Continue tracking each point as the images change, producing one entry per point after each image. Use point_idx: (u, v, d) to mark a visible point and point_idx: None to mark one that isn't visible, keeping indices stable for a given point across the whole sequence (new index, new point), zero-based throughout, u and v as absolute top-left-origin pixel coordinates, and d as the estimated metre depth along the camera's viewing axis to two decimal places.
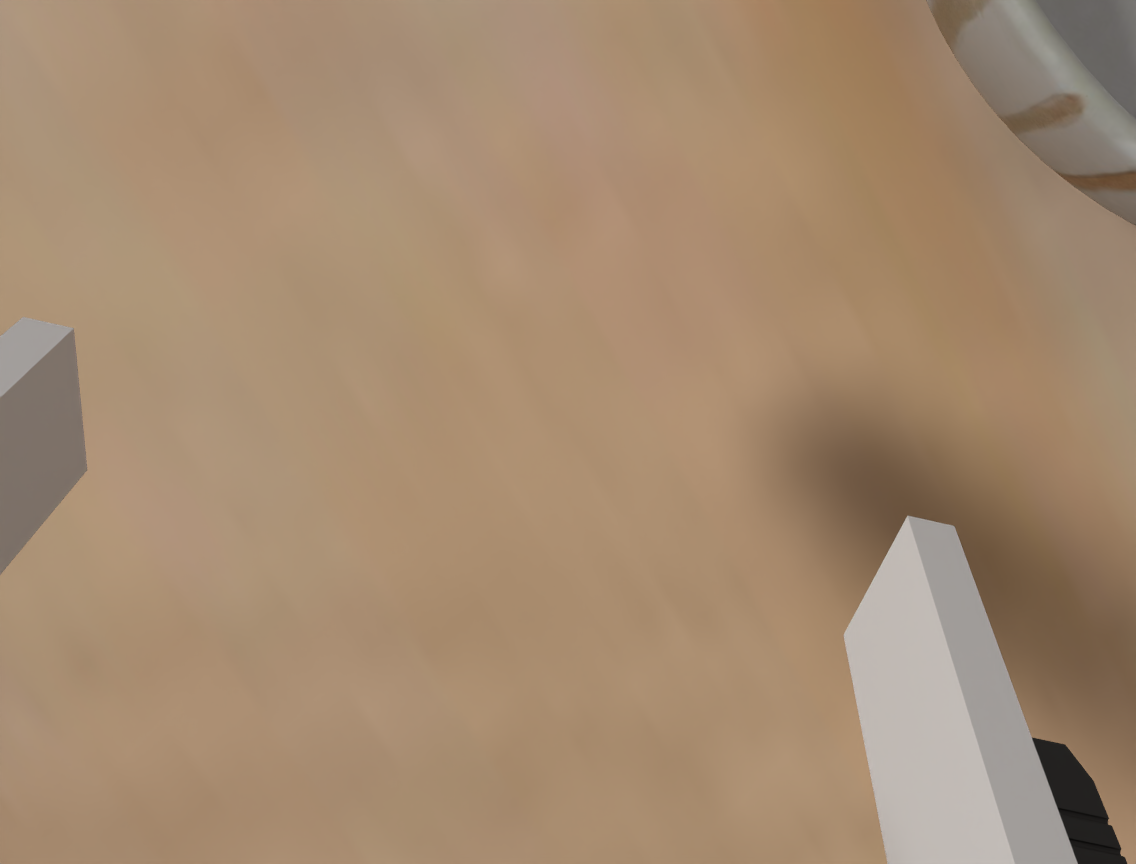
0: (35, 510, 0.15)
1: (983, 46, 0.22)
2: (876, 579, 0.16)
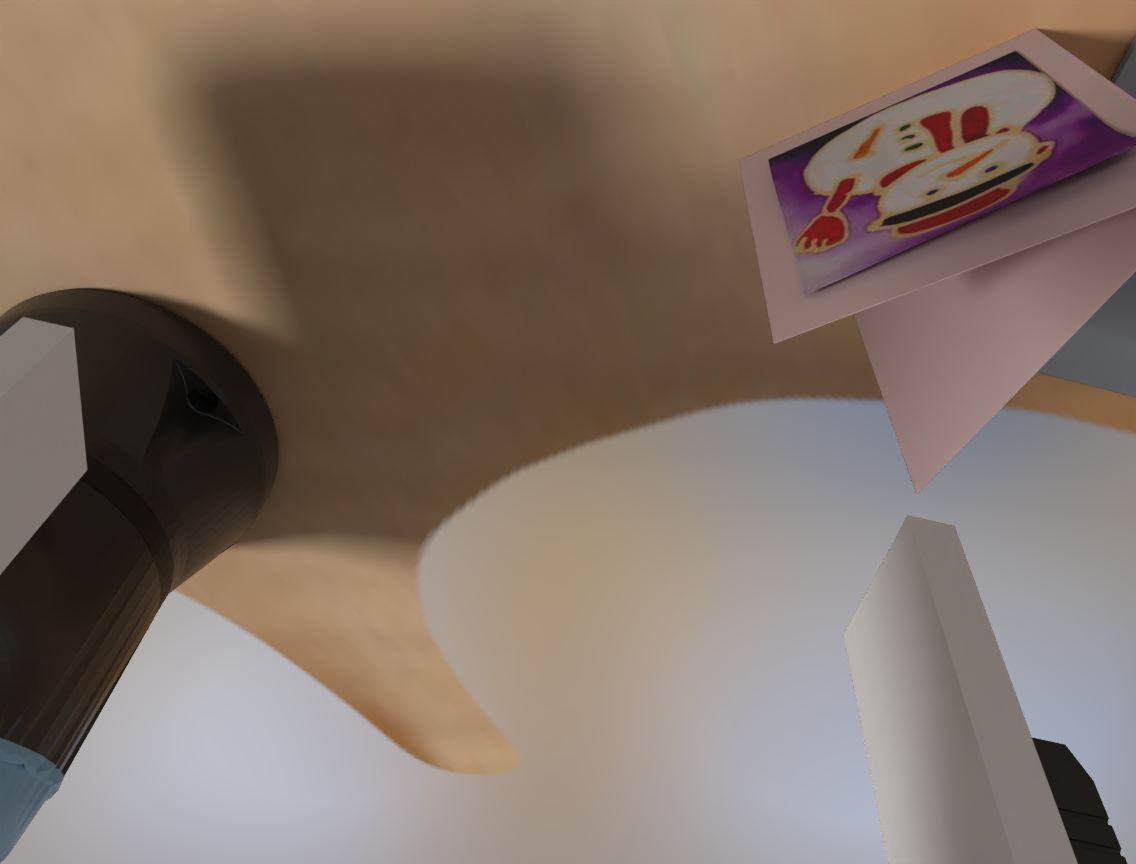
0: (35, 509, 0.15)
1: None
2: (876, 579, 0.16)
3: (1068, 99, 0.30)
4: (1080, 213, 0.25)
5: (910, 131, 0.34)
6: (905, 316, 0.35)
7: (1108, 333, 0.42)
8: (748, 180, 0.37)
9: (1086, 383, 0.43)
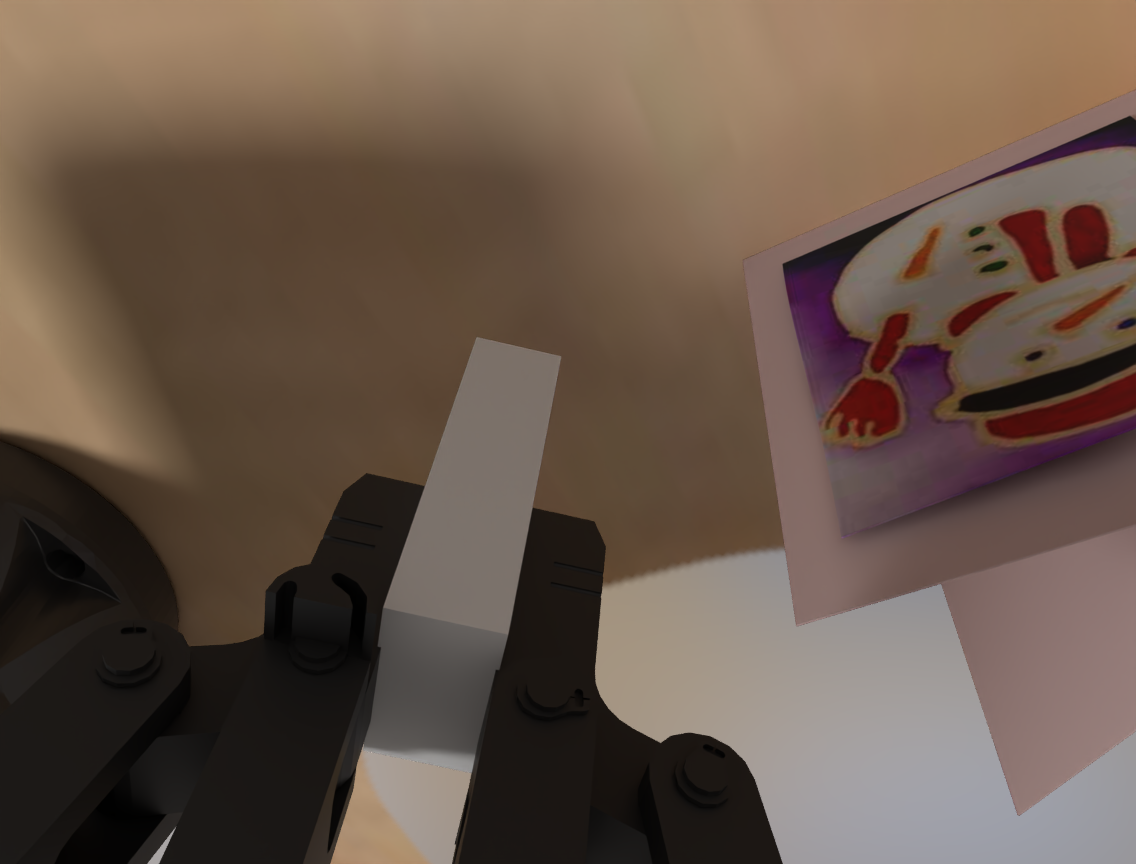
0: None
1: None
2: None
3: None
4: None
5: (985, 237, 0.24)
6: None
7: None
8: (755, 294, 0.27)
9: None
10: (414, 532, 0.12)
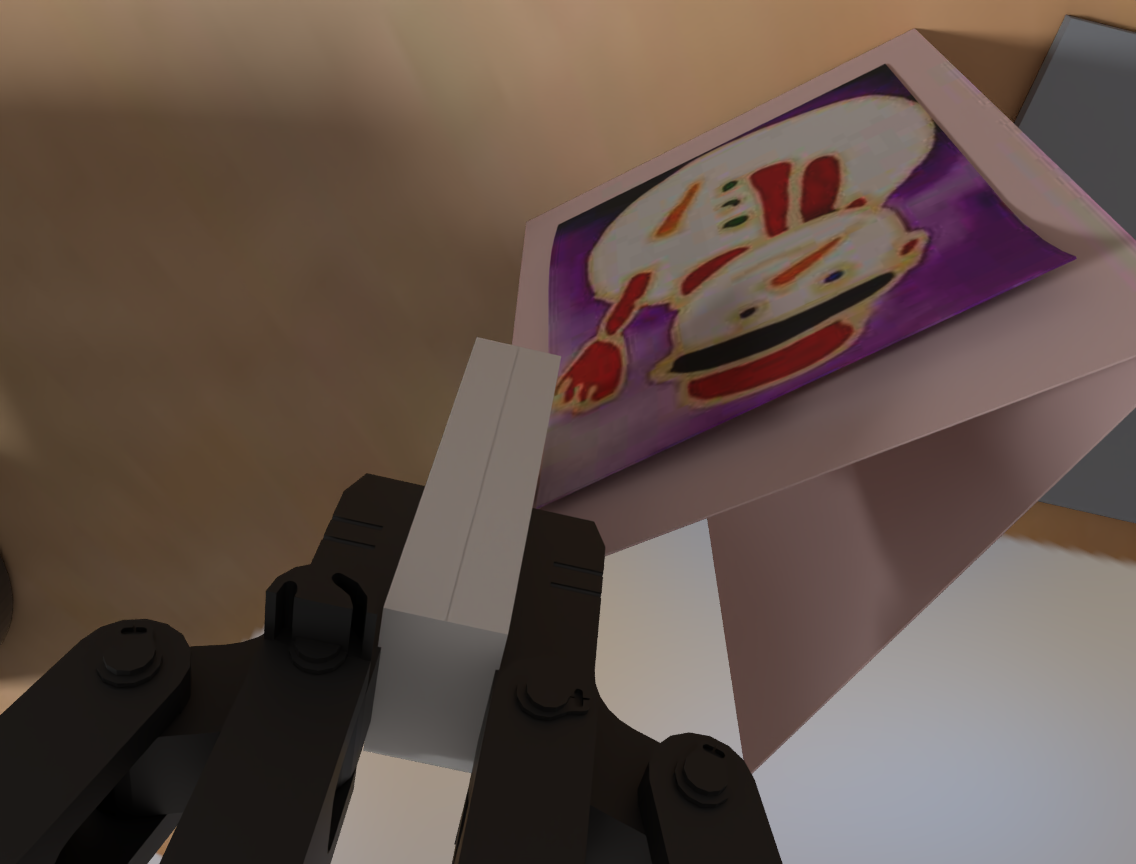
0: None
1: None
2: None
3: (952, 151, 0.20)
4: (962, 388, 0.14)
5: (736, 192, 0.23)
6: None
7: None
8: (529, 257, 0.26)
9: None
10: (414, 532, 0.12)
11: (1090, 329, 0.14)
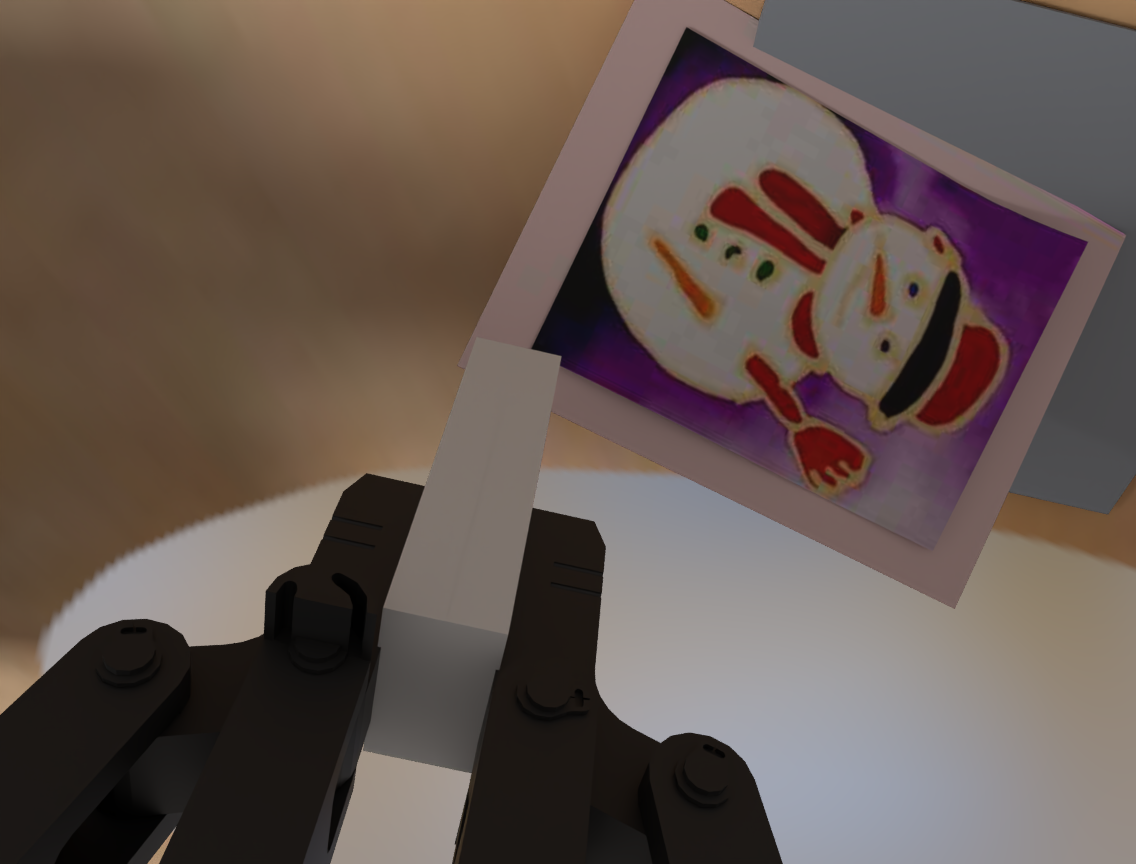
0: None
1: None
2: None
3: (875, 140, 0.26)
4: (1056, 327, 0.27)
5: (714, 235, 0.25)
6: None
7: None
8: None
9: None
10: (414, 532, 0.12)
11: (1079, 262, 0.27)
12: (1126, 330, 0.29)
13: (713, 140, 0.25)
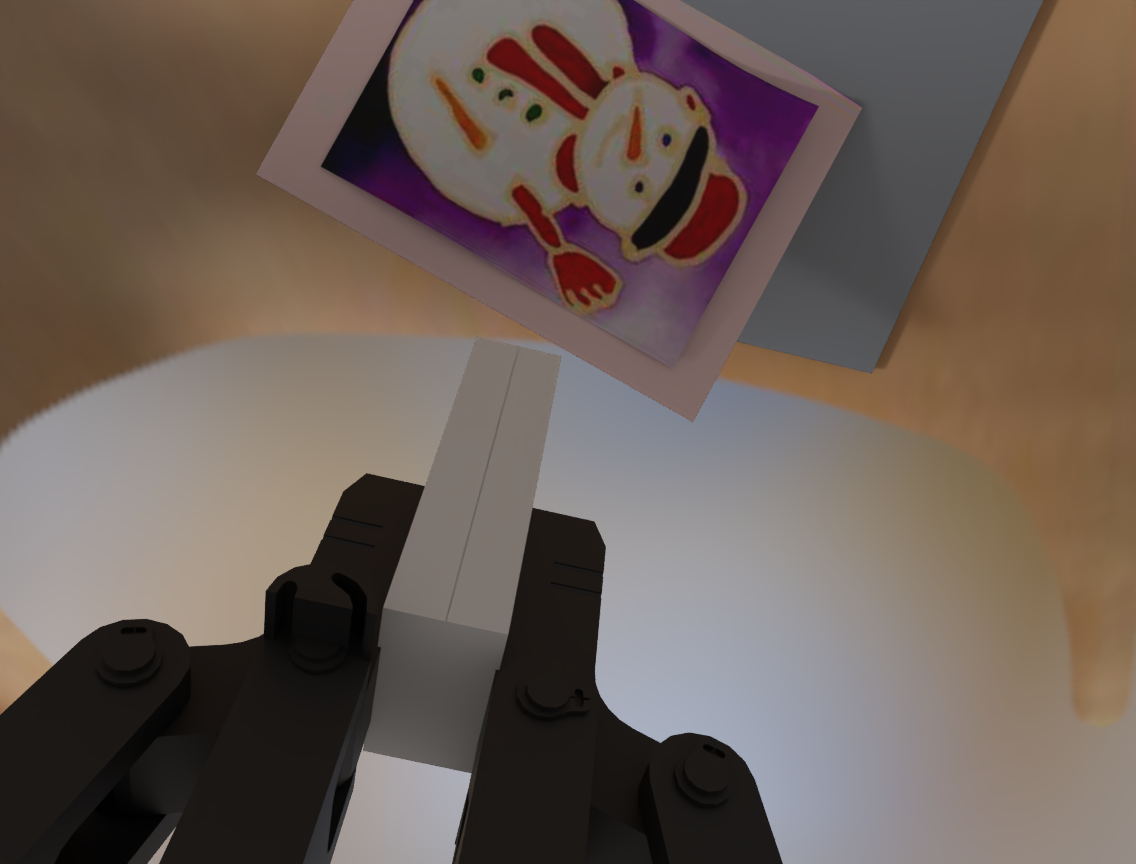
0: None
1: None
2: None
3: (638, 7, 0.30)
4: (795, 183, 0.31)
5: (490, 79, 0.29)
6: None
7: None
8: (334, 211, 0.29)
9: None
10: (414, 532, 0.12)
11: (819, 128, 0.31)
12: (860, 195, 0.33)
13: None
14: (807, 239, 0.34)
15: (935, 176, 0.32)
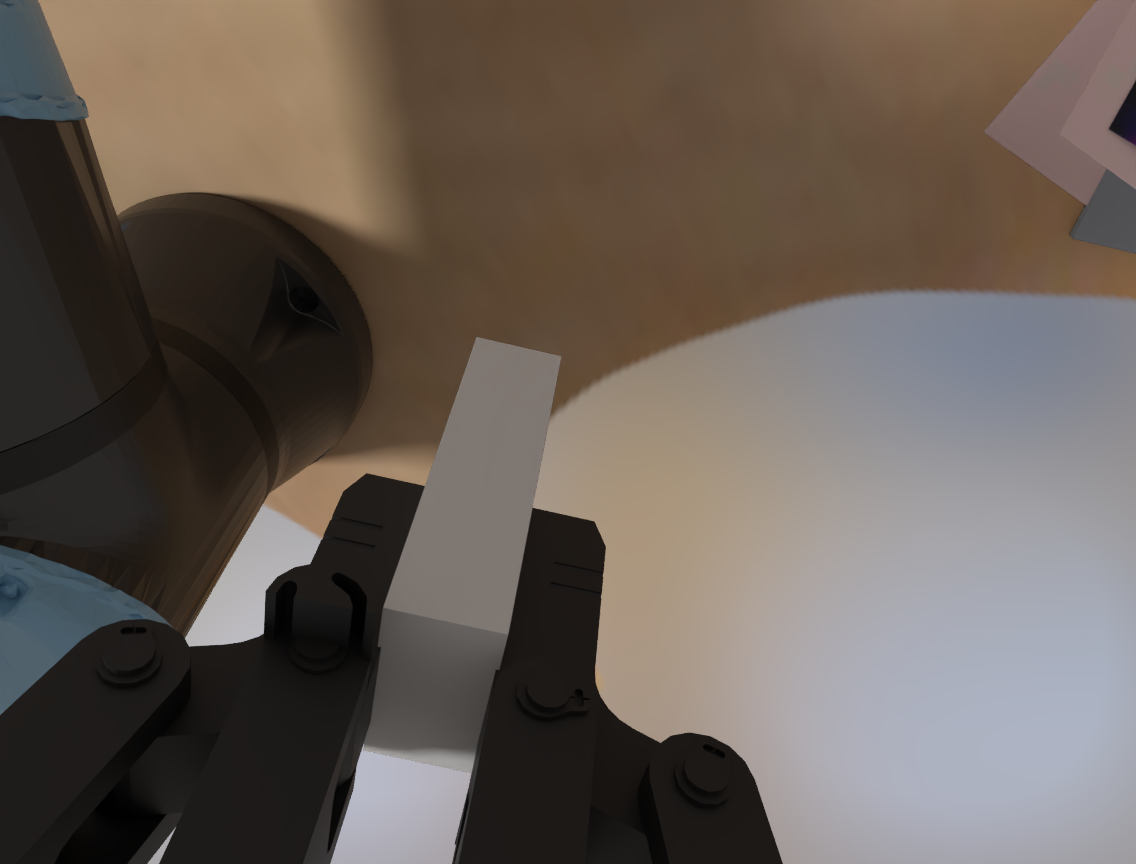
0: None
1: None
2: None
3: None
4: None
5: None
6: None
7: None
8: (1114, 166, 0.34)
9: None
10: (414, 532, 0.12)
11: None
12: None
13: None
14: None
15: None
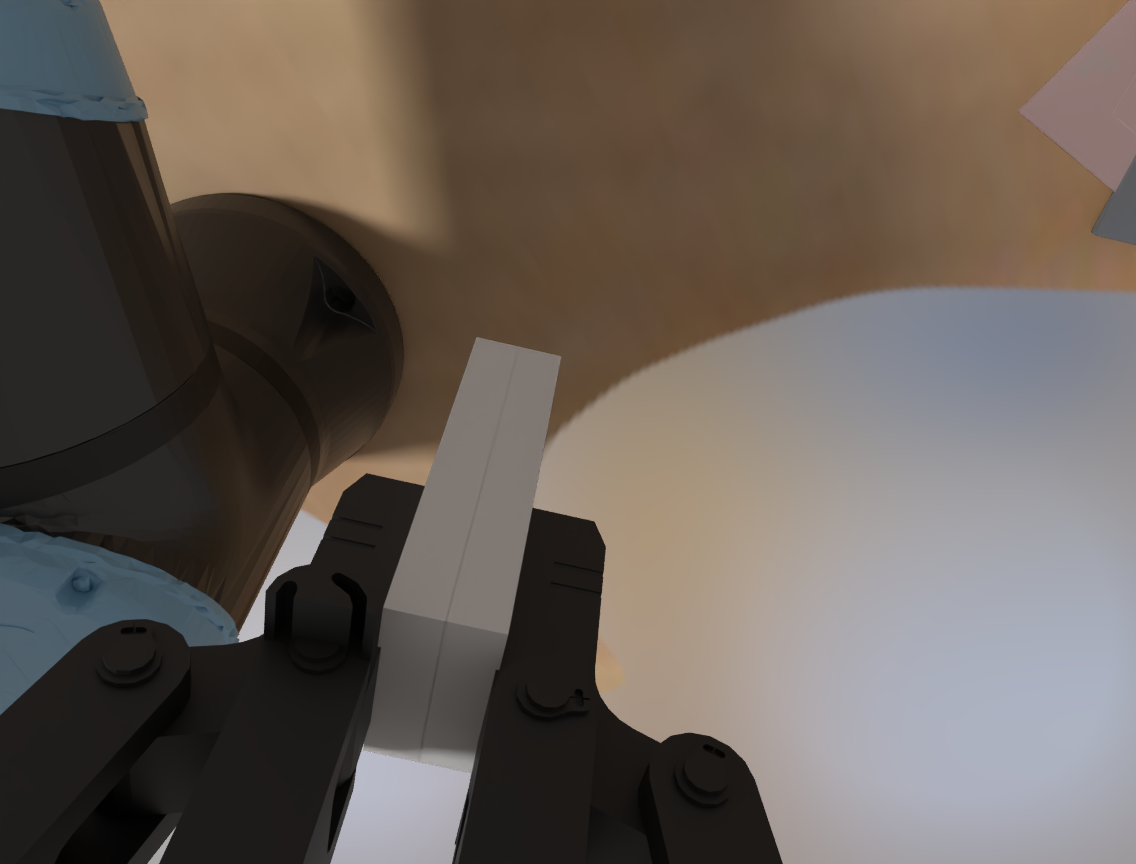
0: None
1: None
2: None
3: None
4: None
5: None
6: None
7: None
8: None
9: None
10: (414, 531, 0.12)
11: None
12: None
13: None
14: None
15: None
